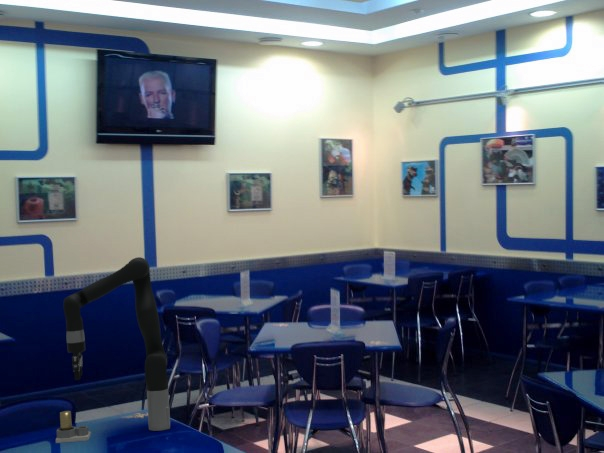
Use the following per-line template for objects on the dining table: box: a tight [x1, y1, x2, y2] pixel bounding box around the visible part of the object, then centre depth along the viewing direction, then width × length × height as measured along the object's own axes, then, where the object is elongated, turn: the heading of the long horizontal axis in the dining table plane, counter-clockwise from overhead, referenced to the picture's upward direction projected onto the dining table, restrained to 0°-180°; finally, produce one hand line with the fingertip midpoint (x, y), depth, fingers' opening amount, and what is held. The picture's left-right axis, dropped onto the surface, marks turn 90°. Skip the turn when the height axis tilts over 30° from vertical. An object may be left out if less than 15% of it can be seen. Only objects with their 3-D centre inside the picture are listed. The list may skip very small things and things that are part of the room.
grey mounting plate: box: [55, 425, 92, 444], centre depth 326 cm, size 13×9×4 cm
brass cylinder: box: [59, 410, 73, 431], centre depth 326 cm, size 4×4×10 cm
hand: (78, 378), depth 334 cm, fingers open, 8 cm apart
